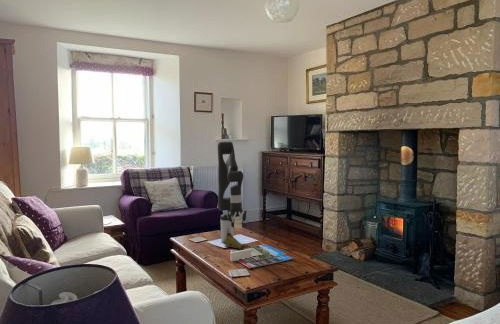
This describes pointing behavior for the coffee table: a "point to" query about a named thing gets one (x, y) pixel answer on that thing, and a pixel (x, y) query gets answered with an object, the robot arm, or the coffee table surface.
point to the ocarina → (232, 242)
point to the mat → (254, 252)
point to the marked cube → (237, 223)
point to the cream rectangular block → (240, 254)
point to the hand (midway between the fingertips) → (236, 226)
